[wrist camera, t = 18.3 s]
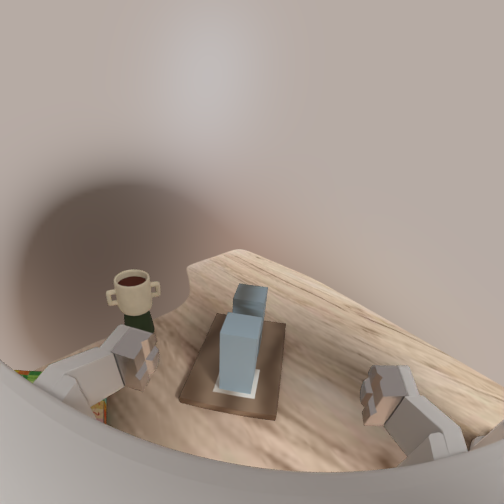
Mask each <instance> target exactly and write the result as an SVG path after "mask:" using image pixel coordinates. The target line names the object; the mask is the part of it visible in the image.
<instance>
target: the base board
mask: <svg viewBox="0 0 504 504" xmlns="http://www.w3.org/2000/svg"><path fill="white" fill-rule="evenodd" d="M267 291H268V287H260V286H253V285H246V284H240V283H239V285H238V288H237V290H236V293H235V295H234V298H233V313H237V314H243V315H250V316H256V317H262V323H261V331H260V338H259V346H258V354H257V361H256V369H255V375H254V380H253V385H252V390H251V394H246V393H240V392H234V391H229V390H224V389H219V365H220V331H221V329H222V326H223V324H224V321H225V319H226V316H227V315H224V314H219V313H217V314H216V317H215V319H214V321H213V323H212V325H211V328H210V330H209V332H208V334H207V337H206V339H205V341H204V343H203V345H202V348H201V350H200V352H199V354H198V357H197V359H196V361H195V363H194V365H193V368H192V370H191V372H190V374H189V377H188V379H187V381H186V383H185V386H184V388H183V390H182V392H181V395H180V402H181V403H185V404H189V405H193V406H197V407H201V408H205V409H210V410H214V411H219V412H224V413H229V414H235V415H240V416H246V417H253V418H259V419H267V420H274V421H275V419H276V415H277V407H278V398H279V389H280V379H281V370H282V360H283V349H284V338H285V326H286V324H285V323H277V322H270V321H264V314H265V307H266V299H267Z"/></svg>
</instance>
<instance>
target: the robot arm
mask: <svg viewBox="0 0 504 504" xmlns="http://www.w3.org/2000/svg"><path fill="white" fill-rule="evenodd" d="M156 343H157V338H156V335H155V334H153V333H150V332H146V331H143V330H140V329H136V328H133V327H129V326H126V325H123V324H121V325H119V326H118V327H117V328H116V329H115V330H114V331H113V332H112V334H111V335H110V336H109V337H108V338H107V339H106V341H105V342H104V343H103V344H102V345H101V346H100V348H98V347H95V348H92V349H90V350H87V351H84V352H82V353H79V354H76V355H74V356H71V357H68V358H66V359H63V360H60V361H57V362H55V363H52V364H49V366H48V367H47V368H46V369H45V370H44V371H43V372H42V373H41V374H40V376H39V377H38V378H37V379H36V380H35V381H34V383H31V382H30V381H28V380H27V379H25V378H24V377H23V376H21V375H20V374H18V373H17V372H16V371H14V370H13V369H12V368H10V367H9V366H7V365H6V364H5V363H4V362H2V361H1V360H0V504H504V420H503V421H501V422H500V423H499V424H498V425H497V426H496V427H495V428H494V429H493V430H491V431H490V432H489V433H488V434H487V435H486V436H478V437H476V438H475V439H473V440H472V442H471V446H470V451H468V449H467V446H466V443H465V440H464V437H463V434H462V431H461V428H460V427H459V426H458V425H457V424H456V423H455V422H453V421H452V420H451V419H450V418H449V417H448V416H446V415H445V414H444V413H443V412H442V411H441V410H439V409H438V408H437V407H436V406H435V405H434V404H432V403H431V402H430V401H429V400H428V399H427V398H425V397H424V396H420V394H419V391H418V389H417V386H416V383H415V380H414V378H413V375H412V372H411V370H410V367H409V366H408V365H404V366H380V365H373V366H372V367H371V368H370V370H369V372H368V374H369V377H368V378H367V379H365V380H364V382H363V384H362V386H361V391H360V402H361V404H362V405H363V406H364V407H365V408H364V410H363V411H362V415H363V422H364V426H375V425H384V427H385V429H386V430H387V431H388V433H389V434H390V435H391V436H392V438H393V439H394V440H395V442H396V443H397V444H398V445H399V447H400V448H401V449H402V451H403V452H404V453H405V454H406V456H407V458H406V459H404V460H403V461H402V462H401V463H400V464H399V465H398V466H397V467H396V468H389V469H380V470H369V471H354V472H301V471H286V470H275V469H266V468H258V467H251V466H244V465H238V464H232V463H227V462H222V461H217V460H213V459H208V458H204V457H200V456H196V455H192V454H188V453H184V452H181V451H177V450H174V449H171V448H167V447H164V446H161V445H158V444H155V443H152V442H149V441H146V440H144V439H141V438H138V437H136V436H133V435H130V434H128V433H125V432H123V431H120V430H118V429H116V428H113V427H111V426H109V425H107V424H104V423H102V422H100V421H98V420H96V417H95V415H94V413H93V411H92V409H91V408H90V407H91V406H93V405H95V404H96V403H98V402H100V401H102V400H103V399H105V398H107V397H108V396H110V395H112V394H113V393H115V392H117V391H118V390H120V389H122V388H123V387H124V386H127V387H130V388H133V389H136V390H139V391H144V390H145V388H146V386H147V384H148V383H149V381H150V378H149V375H150V374H152V373H154V372H155V370H156V369H157V367H158V363H159V350H158V349H157V347H156V346H155V345H156Z"/></svg>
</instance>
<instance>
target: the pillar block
mask: <svg viewBox="0 0 504 504" xmlns="http://www.w3.org/2000/svg"><path fill="white" fill-rule="evenodd" d="M261 323H262V317H256V316H250V315H243V314H237V313H231V312H228V314H227V316H226V319H225V321H224V324H223V326H222V329H221V331H220V365H219V389H224V390H229V391H234V392H240V393H246V394H251V390H252V385H253V380H254V375H255V369H256V361H257V354H258V346H259V338H260V331H261Z"/></svg>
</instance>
